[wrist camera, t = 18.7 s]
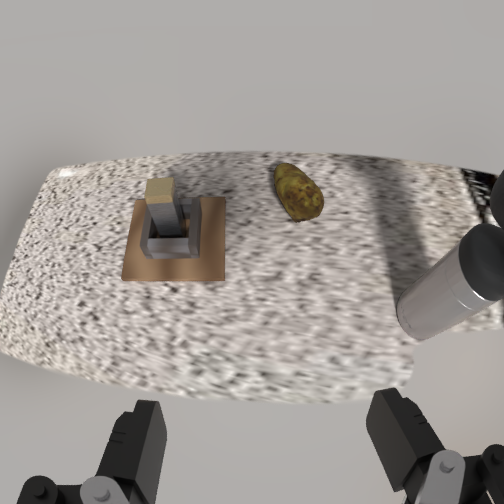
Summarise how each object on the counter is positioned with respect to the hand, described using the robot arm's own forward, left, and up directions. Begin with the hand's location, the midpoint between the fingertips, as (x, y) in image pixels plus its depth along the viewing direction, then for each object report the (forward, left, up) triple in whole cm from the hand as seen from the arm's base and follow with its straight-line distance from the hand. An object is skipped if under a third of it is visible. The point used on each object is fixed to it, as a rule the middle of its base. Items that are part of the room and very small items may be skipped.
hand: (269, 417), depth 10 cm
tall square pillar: (+6, -28, -30) cm, 41 cm away
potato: (-15, -31, -31) cm, 46 cm away
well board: (+6, -28, -31) cm, 42 cm away
